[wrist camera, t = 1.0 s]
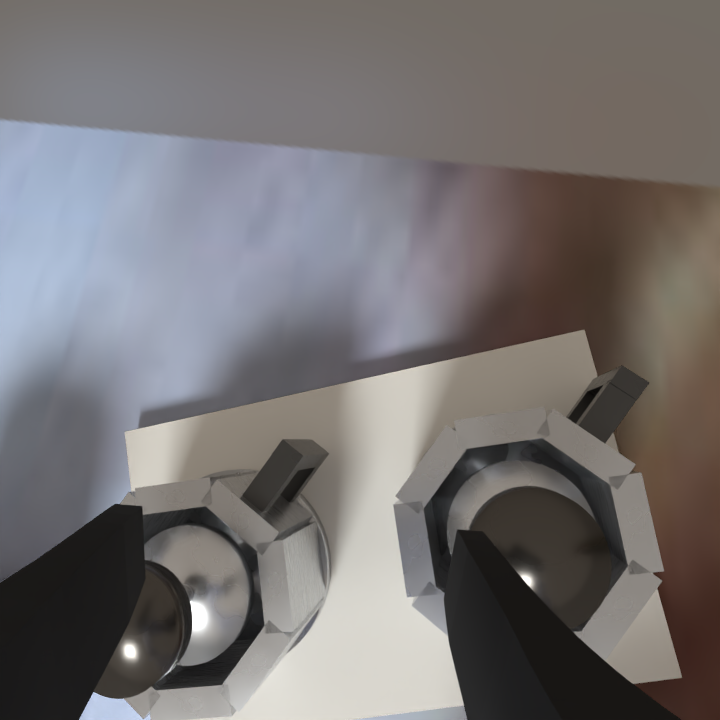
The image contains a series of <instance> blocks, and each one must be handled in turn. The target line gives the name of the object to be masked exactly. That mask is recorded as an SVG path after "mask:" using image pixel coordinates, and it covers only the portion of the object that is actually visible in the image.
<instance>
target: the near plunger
mask: <svg viewBox="0 0 720 720" xmlns="http://www.w3.org/2000/svg"><path fill="white" fill-rule="evenodd" d="M457 529H458V530H472V531H483V532H484V533H485V534H486V536H487V537H488V538H489V539H490V540H491V542H492V543H493V544H494V545H495V546H496V548H497V549H498V550H499V551H500V552H501V554H502V555H503V556H504V557H505V559H506V560H507V561H508V562H509V563H510V565H511V566H512V567H513V568H514V569H515V570H516V572H517V573H518V574H519V575H520V576H521V577H522V579H523V580H524V581H525V582H526V583H527V584H528V585H529V587H530V588H531V589H532V590H533V591H534V592H535V593H536V594H537V595H538V597H539V598H540V599H541V600H542V601H543V602H544V603H545V604H546V605H547V606H548V607H549V608H550V609H551V610H552V611H553V612H554V613H555V614H556V615H557V616H558V617H559V618H560V619H561V620H562V622H563V623H564V624H565V625H566V626H567V627H568V628H569V629H570V630H571V629H573V628H575V627H577V626H579V625H581V624H582V623H584V622H585V621H587V620H588V619H589V618H590V617H591V616H592V615H593V614H594V613H595V612H596V611H597V610H598V608H599V607H600V605H601V604H602V602H603V600H604V599H605V596H606V594H607V592H608V588H609V585H610V581H611V572H612V566H611V556H610V550H609V547H608V543H607V541H606V538H605V536H604V534H603V532H602V530H601V529H600V527H599V525H598V524H597V522H596V521H595V518H594V515H593V513H592V510H591V508H590V506H589V504H588V502H587V501H586V499H585V497H584V496H583V495H582V493H581V492H580V491H579V489H578V488H577V487H576V486H575V485H574V484H573V483H572V482H571V481H569V480H568V479H567V478H566V477H564V476H563V475H562V474H560V473H558V472H557V471H555V470H553V469H551V468H549V467H547V466H544V465H541V464H538V463H534V462H530V461H524V460H507V461H501V462H496V463H494V464H491V465H488V466H486V467H484V468H482V469H480V470H478V471H477V472H476V473H474V474H473V475H471V476H470V477H469V478H468V479H467V480H466V481H465V482H464V483H463V485H462V486H461V487H460V488H459V490H458V492H457V493H456V495H455V497H454V499H453V501H452V504H451V507H450V510H449V515H448V521H447V540H448V546H449V551H450V554H451V557H452V552H453V547H454V542H455V537H456V531H457Z"/></svg>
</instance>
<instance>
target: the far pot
mask: <svg viewBox="0 0 720 720" xmlns="http://www.w3.org/2000/svg"><path fill="white" fill-rule="evenodd" d="M328 455H329V453H328V452H327V451H326V450H325V449H323V448H322V447H321V446H319V445H318V444H317V443H316V442H314V441H313V440H312V439H282V441H281V442H280V443H279V445H278V446H277V447H276V449H275V450H274V452H273V453H272V454H271V456H270V458H269V459H268V460H267V462H266V463H265V465H264V466H263V467H262V469H261V470H260V471H258V470H251V469H236V470H226V471H221V472H216V473H212V474H210V475H207V476H204V477H202V478H200V479H194V480H187V481H181V482H174V483H167V484H160V485H153V486H146V487H139V488H135V491H133V492H128V494H127V495H126V496H125V498H124V499H123V501H122V502H121V503H120V504H122V505H135V506H142V509H143V531H144V545H145V544H146V543H147V542H148V541H149V540H150V539H151V538H153V537H154V536H155V535H157V534H159V533H160V532H162V531H164V530H167V529H170V528H173V527H176V526H179V525H184V524H191V523H198V524H205V525H210V526H213V527H215V528H218V529H219V530H221V531H223V532H225V533H226V534H227V535H229V536H230V537H231V538H232V539H233V540H234V541H235V542H236V543H237V544H238V545H239V546H240V548H241V549H242V550H243V552H244V554H245V556H246V557H247V560H248V562H249V564H250V567H251V571H252V574H253V580H254V602H253V608H252V612H251V615H250V618H249V620H248V622H247V625H246V627H245V628H244V630H243V632H242V633H241V635H240V636H239V637H238V638H237V639H236V641H235V642H234V643H233V644H231V645H230V646H229V647H228V648H227V649H226V650H225V651H224V652H222V653H221V654H220V655H218V656H217V657H215V658H214V659H212V660H210V661H208V662H205V663H202V664H198V665H192V666H181V665H176V667H175V668H174V669H172V670H171V671H170V672H169V673H168V674H167V675H165V676H164V677H163V678H162V679H160V680H159V681H158V682H157V683H155V684H154V685H153V686H152V687H150V688H149V689H147V690H146V691H144V692H142V693H140V694H138V695H136V696H133V697H129V698H124V699H125V700H126V701H127V702H128V703H129V704H130V705H131V707H132V708H133V709H134V710H135V711H136V712H137V713H138V714H139V715H140V716H141V717H142V718H143V719H144V718H146V717H147V716H148V715H149V714H150V717H151V720H189V719H203V718H217V717H231V716H233V714H234V713H235V712H236V711H238V712H240V710H241V709H242V708H243V707H244V705H245V704H246V703H247V702H248V701H249V699H250V698H251V697H252V696H253V694H254V693H255V692H256V691H257V689H258V688H259V687H260V686H261V685H262V683H263V682H264V681H265V680H266V678H267V677H268V676H269V675H270V674H271V672H272V671H273V670H274V669H275V667H276V666H277V665H278V664H279V663H280V661H281V660H282V659H283V658H284V656H285V655H286V654H287V653H288V652H290V651H291V650H292V649H293V648H294V647H295V646H296V645H297V644H298V643H299V642H300V641H301V640H302V639H303V637H304V636H305V635H306V634H307V633H308V631H309V630H310V629H311V628H312V626H313V625H314V623H315V621H316V620H317V618H318V617H319V615H320V613H321V610H322V608H323V606H324V604H325V601H326V597H327V594H328V590H329V585H330V579H331V554H330V548H329V543H328V538H327V535H326V532H325V529H324V527H323V524H322V522H321V520H320V518H319V516H318V514H317V513H316V511H315V510H314V508H313V506H312V505H311V504H310V503H309V501H308V500H307V499H306V498H305V496H304V495H302V494H301V492H302V490H303V489H304V487H305V486H306V485H307V483H308V482H309V481H310V479H311V478H312V476H313V475H314V474H315V472H316V471H317V470H318V468H319V467H320V466H321V464H322V463H323V462H324V460H325V459H326V457H327V456H328Z"/></svg>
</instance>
